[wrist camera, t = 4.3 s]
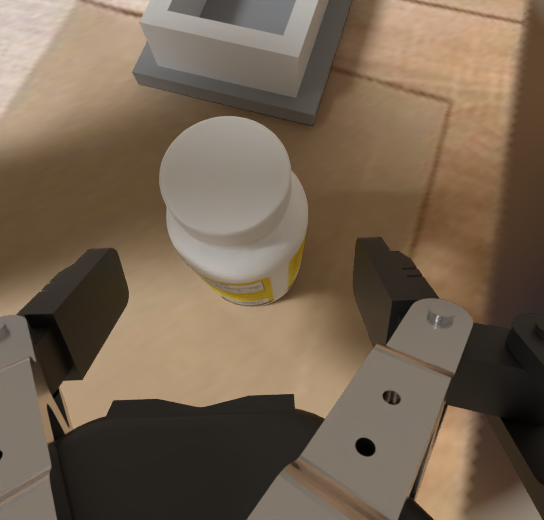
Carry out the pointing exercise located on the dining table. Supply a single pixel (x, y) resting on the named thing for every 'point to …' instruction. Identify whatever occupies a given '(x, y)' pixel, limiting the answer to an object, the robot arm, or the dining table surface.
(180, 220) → the supplement bottle
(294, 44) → the board
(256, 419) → the robot arm
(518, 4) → the dining table surface
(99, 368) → the dining table surface
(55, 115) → the dining table surface
